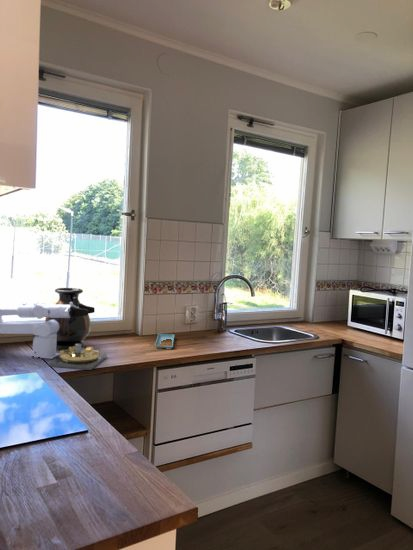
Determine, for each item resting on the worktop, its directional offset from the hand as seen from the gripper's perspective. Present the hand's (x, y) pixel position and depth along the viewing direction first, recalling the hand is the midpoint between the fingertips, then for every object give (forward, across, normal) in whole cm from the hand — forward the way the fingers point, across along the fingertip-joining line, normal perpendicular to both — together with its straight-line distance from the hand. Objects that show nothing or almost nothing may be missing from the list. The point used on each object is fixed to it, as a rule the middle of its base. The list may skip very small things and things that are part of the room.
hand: (91, 311), depth 194 cm
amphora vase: (-20, +19, +20) cm, 34 cm away
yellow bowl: (-4, -4, +20) cm, 20 cm away
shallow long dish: (+24, +43, +23) cm, 54 cm away
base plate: (-5, -4, +21) cm, 22 cm away
